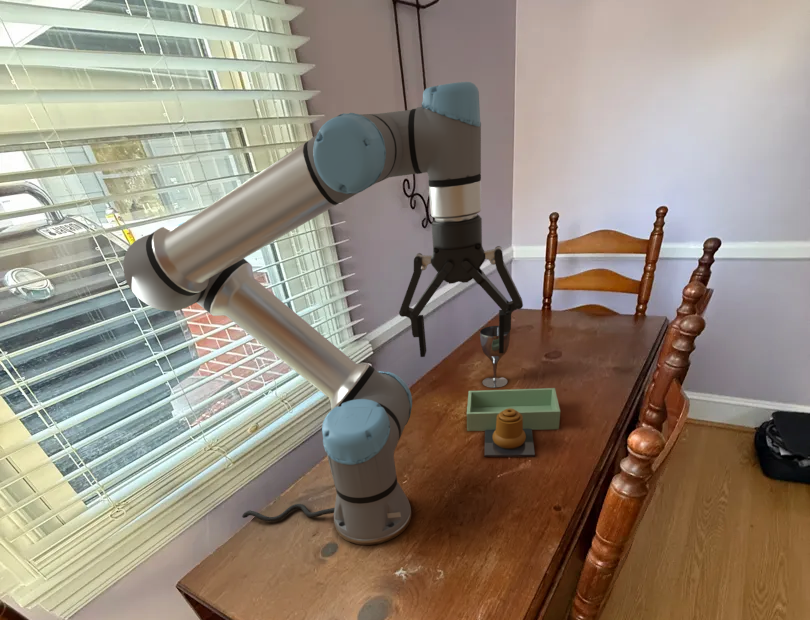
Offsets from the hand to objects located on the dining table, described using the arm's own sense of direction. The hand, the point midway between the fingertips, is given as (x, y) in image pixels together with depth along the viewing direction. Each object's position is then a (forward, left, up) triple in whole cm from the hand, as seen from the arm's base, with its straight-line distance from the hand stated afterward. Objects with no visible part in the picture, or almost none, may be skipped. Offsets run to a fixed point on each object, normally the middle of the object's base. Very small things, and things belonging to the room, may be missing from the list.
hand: (461, 352), depth 83 cm
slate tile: (+9, +15, -29) cm, 33 cm away
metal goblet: (+6, +47, -29) cm, 55 cm away
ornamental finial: (+9, +15, -28) cm, 33 cm away
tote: (+10, +27, -29) cm, 40 cm away
